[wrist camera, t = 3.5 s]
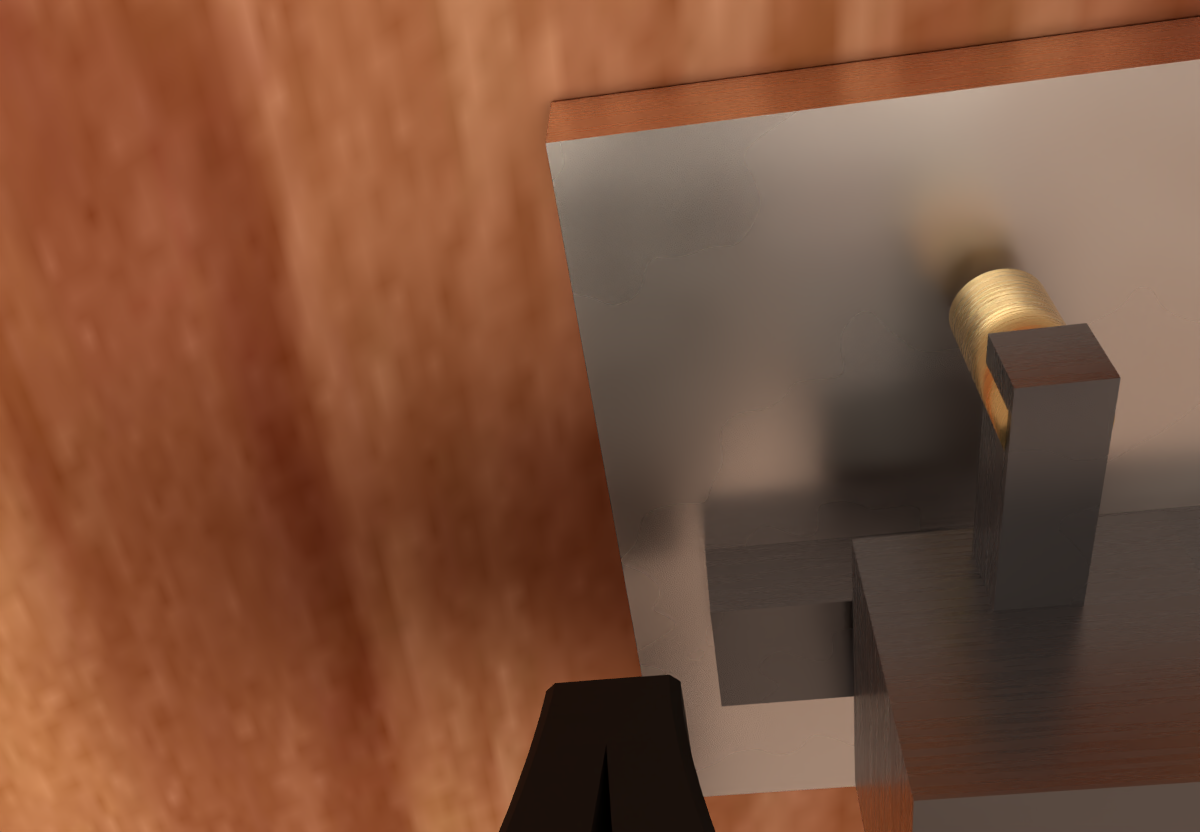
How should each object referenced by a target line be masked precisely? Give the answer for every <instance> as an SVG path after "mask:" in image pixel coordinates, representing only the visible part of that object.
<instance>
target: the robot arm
mask: <svg viewBox="0 0 1200 832" xmlns="http://www.w3.org/2000/svg"><path fill="white" fill-rule="evenodd" d="M499 832H715V830H714V827H713V824H712V821H711V819H710V815H709V812H708V809H707V806H706V803H705V800H704V797H703V794H702V790H701V787H700V783H699V779H698V776H697V772H696V769H695V765H694V762H693V758H692V753H691V747H690V740H689V734H688V727H687V720H686V714H685V707H684V701H683V694H682V687H681V681H679V680H678V679H676V678H674V677H673V676H671V675H669V674H668V675H655V676H642V677H629V678H617V679H604V680H591V681H578V682H566V683H555V684H554V685H553V686H552V687H551V688H549V689H548V690H547V691H546V695H545V699H544V703H543V707H542V711H541V714H540V718H539V721H538V725H537V728H536V731H535V734H534V738H533V741H532V744H531V747H530V750H529V753H528V756H527V759H526V762H525V765H524V768H523V771H522V773H521V776H520V779H519V782H518V784H517V787H516V790H515V793H514V795H513V798H512V801H511V803H510V806H509V809H508V811H507V814H506V816H505V818H504V821H503V823H502V826H501V828H500V831H499Z"/></svg>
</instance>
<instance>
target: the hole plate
mask: <svg viewBox="0 0 1200 832" xmlns="http://www.w3.org/2000/svg"><path fill="white" fill-rule="evenodd" d="M546 148H547V154H548V159H549V165H550V170H551V176H552V181H553V187H554V193H555V198H556V204H557V209H558V215H559V220H560V226H561V231H562V237H563V242H564V248H565V253H566V259H567V264H568V270H569V275H570V281H571V286H572V292H573V297H574V303H575V309H576V314H577V320H578V325H579V331H580V336H581V342H582V347H583V353H584V358H585V364H586V369H587V375H588V380H589V386H590V391H591V397H592V402H593V408H594V413H595V419H596V425H597V430H598V436H599V441H600V447H601V452H602V458H603V463H604V469H605V474H606V480H607V485H608V491H609V496H610V502H611V507H612V513H613V518H614V524H615V529H616V535H617V541H618V546H619V552H620V557H621V563H622V568H623V574H624V579H625V585H626V590H627V596H628V601H629V607H630V612H631V618H632V623H633V629H634V634H635V640H636V645H637V651H638V657H639V662H640V668H641V673H642V676H655V675H668V674H669V675H671V676H673V677H674V678H676V679H678V680H679V681H681V687H682V694H683V701H684V707H685V714H686V720H687V727H688V734H689V740H690V747H691V753H692V758H693V762H694V765H695V769H696V772H697V776H698V779H699V783H700V787H701V790H702V794H703V797H705V796H720V795H735V794H750V793H764V792H779V791H794V790H808V789H823V788H838V787H852V786H856V784H855V756H854V696H853V697H840V698H827V699H814V700H800V701H787V702H774V703H761V704H748V705H735V706H721V697H720V689H719V681H718V672H717V664H716V656H715V648H714V639H713V631H712V623H711V614H710V603H709V590H708V578H707V566H706V553H705V550H709V549H720V548H732V547H743V546H754V545H765V544H776V543H787V542H798V541H809V540H820V539H831V538H842V537H854V536H865V535H876V534H887V533H898V532H909V531H920V530H931V529H942V528H953V527H964V526H974V513H975V500H976V486H977V473H978V460H979V446H980V433H981V420H982V406H983V401H982V399H981V397H980V394H979V392H978V390H977V387H976V385H975V383H974V381H973V378H972V376H971V374H970V371H969V369H968V367H967V365H966V362H965V360H964V358H963V355H962V353H961V351H960V349H959V346H958V344H957V342H956V339H955V337H954V335H953V333H952V330H951V327H950V323H949V312H950V308H951V305H952V302H953V300H954V298H955V297H956V295H957V294H958V292H959V291H960V290H961V289H962V288H963V287H964V286H965V285H966V284H967V283H968V282H970V281H971V280H973V279H974V278H976V277H977V276H979V275H981V274H984V273H986V272H989V271H993V270H998V269H1017V270H1022V271H1025V272H1027V273H1029V274H1031V275H1033V276H1034V277H1036V278H1037V279H1038V280H1039V281H1040V282H1041V284H1042V285H1043V287H1044V288H1045V290H1046V292H1047V293H1048V295H1049V297H1050V298H1051V300H1052V302H1053V303H1054V305H1055V307H1056V308H1057V310H1058V312H1059V314H1060V315H1061V317H1062V319H1063V320H1064V322H1065V324H1066V325H1072V324H1082V323H1087V324H1088V326H1089V328H1090V329H1091V331H1092V332H1093V334H1094V336H1095V337H1096V339H1097V340H1098V342H1099V344H1100V345H1101V347H1102V348H1103V350H1104V352H1105V353H1106V355H1107V356H1108V358H1109V360H1110V361H1111V363H1112V364H1113V366H1114V368H1115V369H1116V371H1117V372H1118V374H1119V376H1120V377H1121V380H1120V386H1119V392H1118V398H1117V404H1116V410H1115V421H1114V425H1113V429H1112V435H1111V441H1110V447H1109V453H1108V460H1107V466H1106V472H1105V478H1104V484H1103V490H1102V496H1101V503H1100V509H1099V514H1109V513H1120V512H1131V511H1142V510H1153V509H1164V508H1175V507H1186V506H1197V505H1200V17H1194V18H1187V19H1179V20H1172V21H1164V22H1156V23H1149V24H1141V25H1134V26H1126V27H1119V28H1111V29H1103V30H1096V31H1088V32H1081V33H1073V34H1066V35H1058V36H1050V37H1043V38H1035V39H1028V40H1020V41H1013V42H1005V43H998V44H990V45H982V46H975V47H967V48H960V49H952V50H945V51H937V52H929V53H922V54H914V55H907V56H899V57H892V58H884V59H876V60H869V61H861V62H854V63H846V64H839V65H831V66H823V67H816V68H808V69H801V70H793V71H786V72H778V73H770V74H763V75H755V76H748V77H740V78H733V79H725V80H717V81H710V82H702V83H695V84H687V85H680V86H672V87H664V88H657V89H649V90H642V91H634V92H627V93H619V94H611V95H604V96H596V97H589V98H581V99H574V100H566V101H559V102H552V103H551V110H550V117H549V123H548V130H547V137H546Z"/></svg>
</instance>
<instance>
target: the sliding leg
mask: <svg viewBox="0 0 1200 832" xmlns="http://www.w3.org/2000/svg"><path fill="white" fill-rule="evenodd" d="M949 323H950V327H951V330H952V333H953V335H954V337H955V339H956V342H957V344H958V346H959V349H960V351H961V353H962V355H963V358H964V360H965V362H966V365H967V367H968V369H969V371H970V374H971V376H972V378H973V381H974V383H975V385H976V387H977V390H978V392H979V394H980V397H981V399H982V401H983V406H982V420H981V433H980V446H979V460H978V473H977V486H976V500H975V513H974V527H973V528H971V529H960V530H949V531H938V532H927V533H916V534H905V535H893V536H882V537H871V538H860V539H852V589H853V672H854V756H855V784H856V790H857V795H858V800H859V805H860V811H861V816H862V821H863V826H864V832H1200V573H1199V571H1198V570H1197V568H1196V566H1195V564H1194V563H1193V561H1192V559H1191V557H1190V556H1189V554H1188V552H1187V551H1186V549H1185V547H1184V545H1183V544H1182V542H1181V540H1180V539H1179V537H1178V535H1177V533H1176V532H1175V530H1174V528H1173V526H1172V525H1171V523H1170V521H1169V520H1168V518H1167V516H1166V514H1165V513H1164V511H1160V512H1149V513H1138V514H1127V515H1116V516H1105V517H1098V515H1099V509H1100V503H1101V496H1102V490H1103V484H1104V478H1105V472H1106V466H1107V460H1108V453H1109V447H1110V441H1111V435H1112V429H1113V425H1114V421H1115V410H1116V404H1117V398H1118V392H1119V386H1120V380H1121V377H1120V376H1119V374H1118V372H1117V371H1116V369H1115V368H1114V366H1113V364H1112V363H1111V361H1110V360H1109V358H1108V356H1107V355H1106V353H1105V352H1104V350H1103V348H1102V347H1101V345H1100V344H1099V342H1098V340H1097V339H1096V337H1095V336H1094V334H1093V332H1092V331H1091V329H1090V328H1089V326H1088V324H1087V323H1082V324H1072V325H1066V324H1065V322H1064V320H1063V319H1062V317H1061V315H1060V314H1059V312H1058V310H1057V308H1056V307H1055V305H1054V303H1053V302H1052V300H1051V298H1050V297H1049V295H1048V293H1047V292H1046V290H1045V288H1044V287H1043V285H1042V284H1041V282H1040V281H1039V280H1038V279H1037V278H1036V277H1034V276H1033V275H1031V274H1029V273H1027V272H1025V271H1022V270H1017V269H998V270H993V271H989V272H986V273H984V274H981V275H979V276H977V277H976V278H974V279H973V280H971V281H970V282H968V283H967V284H966V285H965V286H964V287H963V288H962V289H961V290H960V291H959V292H958V294H957V295H956V297H955V298H954V300H953V302H952V305H951V308H950V312H949Z"/></svg>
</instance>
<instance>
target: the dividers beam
mask: <svg viewBox="0 0 1200 832" xmlns="http://www.w3.org/2000/svg"><path fill="white" fill-rule="evenodd" d="M1160 511H1164V513H1165V514H1166V516H1167V518H1168V520H1169V521H1170V523H1171V525H1172V526H1173V528H1174V530H1175V532H1176V533H1177V535H1178V537H1179V539H1180V540H1181V542H1182V544H1183V545H1184V547H1185V549H1186V551H1187V552H1188V554H1189V556H1190V557H1191V559H1192V561H1193V563H1194V564H1195V566H1196V568H1197V570H1198V571H1199V573H1200V505H1197V506H1186V507H1175V508H1164V509H1153V510H1142V511H1131V512H1120V513H1109V514H1099V515H1098V517H1105V516H1116V515H1127V514H1138V513H1149V512H1160ZM973 527H974V526H964V527H953V528H942V529H931V530H920V531H909V532H898V533H887V534H876V535H865V536H854V537H842V538H831V539H820V540H809V541H798V542H787V543H776V544H765V545H754V546H743V547H732V548H720V549H709V550H705V553H706V566H707V578H708V590H709V603H710V614H711V623H712V631H713V639H714V648H715V656H716V664H717V672H718V681H719V689H720V697H721V706H735V705H748V704H761V703H774V702H787V701H800V700H814V699H827V698H840V697H853V696H854V672H853V589H852V539H860V538H871V537H882V536H893V535H905V534H916V533H927V532H938V531H949V530H960V529H971V528H973Z"/></svg>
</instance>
